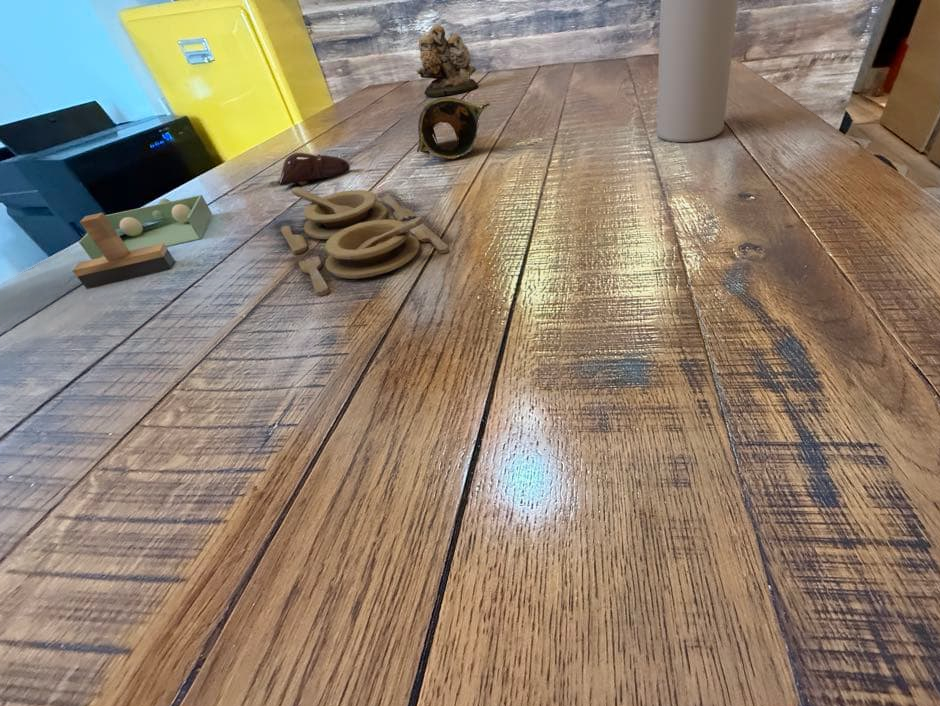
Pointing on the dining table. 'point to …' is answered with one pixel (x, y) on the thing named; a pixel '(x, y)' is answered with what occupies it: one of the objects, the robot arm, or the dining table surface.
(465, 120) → the pot
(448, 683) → the dining table surface
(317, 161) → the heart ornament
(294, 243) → the tableware set
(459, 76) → the owl figurine
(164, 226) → the dustpan
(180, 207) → the ball
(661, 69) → the cylinder vase
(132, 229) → the ball
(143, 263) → the brush
